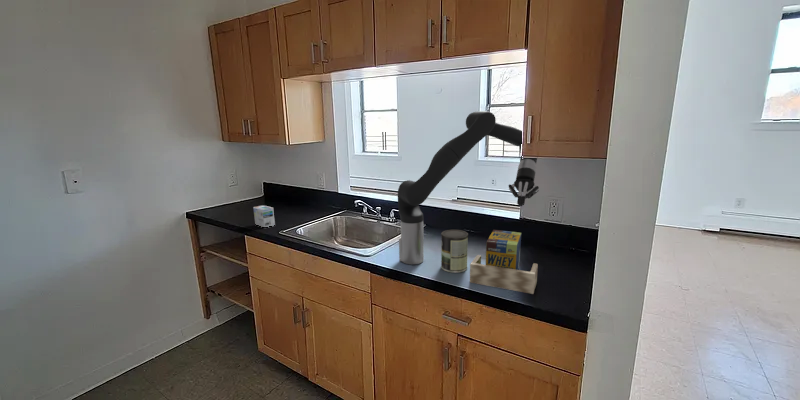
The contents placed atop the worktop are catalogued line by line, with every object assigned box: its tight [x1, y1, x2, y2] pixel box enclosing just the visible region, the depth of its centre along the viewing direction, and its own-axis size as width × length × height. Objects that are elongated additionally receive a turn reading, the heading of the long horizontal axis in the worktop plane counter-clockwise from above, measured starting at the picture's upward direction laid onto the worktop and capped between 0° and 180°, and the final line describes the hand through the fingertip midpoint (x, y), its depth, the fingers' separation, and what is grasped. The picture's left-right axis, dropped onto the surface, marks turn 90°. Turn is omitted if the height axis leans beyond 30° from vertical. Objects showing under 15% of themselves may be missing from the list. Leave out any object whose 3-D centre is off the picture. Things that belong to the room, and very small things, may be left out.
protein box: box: [485, 229, 522, 270], centre depth 133 cm, size 10×15×16 cm
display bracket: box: [469, 254, 539, 295], centre depth 129 cm, size 22×10×7 cm, turn 64°
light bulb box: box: [252, 204, 276, 228], centre depth 206 cm, size 11×7×11 cm, turn 49°
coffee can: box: [440, 229, 469, 274], centre depth 142 cm, size 10×10×14 cm
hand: (520, 205), depth 153 cm, fingers closed
